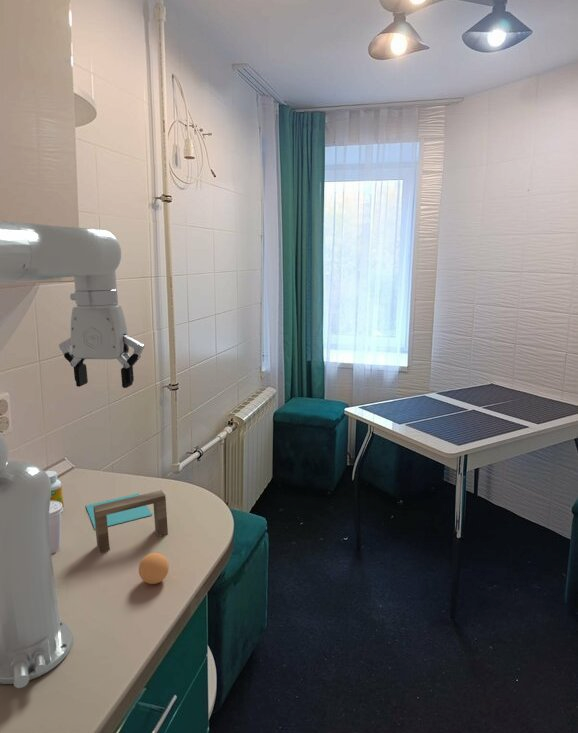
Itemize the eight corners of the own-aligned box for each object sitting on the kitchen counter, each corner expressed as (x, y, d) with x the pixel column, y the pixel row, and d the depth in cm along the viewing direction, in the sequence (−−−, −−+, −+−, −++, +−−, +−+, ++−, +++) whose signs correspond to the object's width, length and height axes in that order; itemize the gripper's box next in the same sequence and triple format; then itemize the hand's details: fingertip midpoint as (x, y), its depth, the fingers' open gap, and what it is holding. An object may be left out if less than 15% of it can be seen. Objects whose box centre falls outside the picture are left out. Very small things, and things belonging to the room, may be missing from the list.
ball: (173, 584, 97) (171, 558, 96) (144, 594, 95) (141, 567, 94) (164, 569, 102) (163, 544, 101) (136, 578, 99) (134, 552, 98)
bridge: (167, 533, 115) (165, 495, 113) (99, 552, 108) (95, 512, 106) (164, 527, 118) (161, 490, 116) (97, 545, 111) (93, 506, 109)
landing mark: (152, 515, 123) (152, 514, 123) (95, 529, 117) (95, 529, 117) (138, 493, 134) (138, 493, 134) (85, 506, 128) (85, 505, 128)
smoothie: (29, 550, 109) (21, 488, 106) (59, 538, 114) (52, 478, 111) (41, 562, 105) (33, 498, 102) (72, 548, 110) (65, 487, 107)
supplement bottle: (47, 519, 122) (42, 481, 120) (35, 512, 125) (30, 475, 123) (68, 510, 126) (64, 473, 124) (56, 504, 129) (52, 467, 127)
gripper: (44, 301, 97) (53, 389, 101) (130, 301, 95) (137, 391, 98) (66, 297, 105) (74, 380, 108) (147, 298, 102) (153, 382, 106)
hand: (104, 385), depth 103 cm, fingers open, 9 cm apart
